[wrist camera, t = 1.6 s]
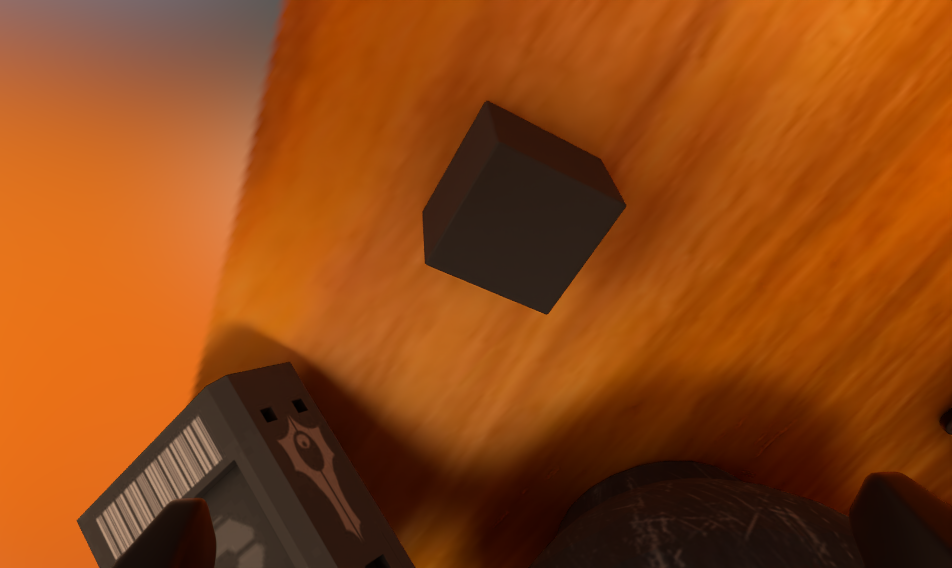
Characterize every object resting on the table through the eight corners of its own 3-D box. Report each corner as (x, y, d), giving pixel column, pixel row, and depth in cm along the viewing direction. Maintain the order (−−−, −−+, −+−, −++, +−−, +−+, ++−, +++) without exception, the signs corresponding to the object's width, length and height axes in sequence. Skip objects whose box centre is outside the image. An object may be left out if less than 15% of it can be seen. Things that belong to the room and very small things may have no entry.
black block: (602, 158, 21) (628, 205, 19) (531, 261, 23) (547, 316, 21) (486, 99, 20) (497, 140, 17) (421, 212, 22) (423, 265, 19)
